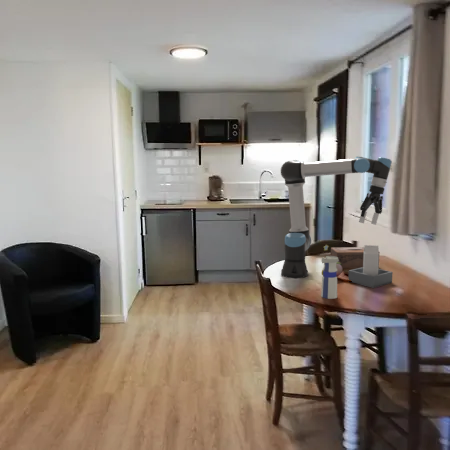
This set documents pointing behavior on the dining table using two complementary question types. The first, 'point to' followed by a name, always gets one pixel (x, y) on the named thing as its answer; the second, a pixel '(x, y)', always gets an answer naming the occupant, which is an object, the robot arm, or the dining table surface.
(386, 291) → the dining table surface
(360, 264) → the tissue box cover
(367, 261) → the milk carton
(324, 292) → the water bottle
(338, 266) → the decorative fruit
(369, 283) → the bin
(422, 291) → the dining table surface
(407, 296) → the dining table surface
